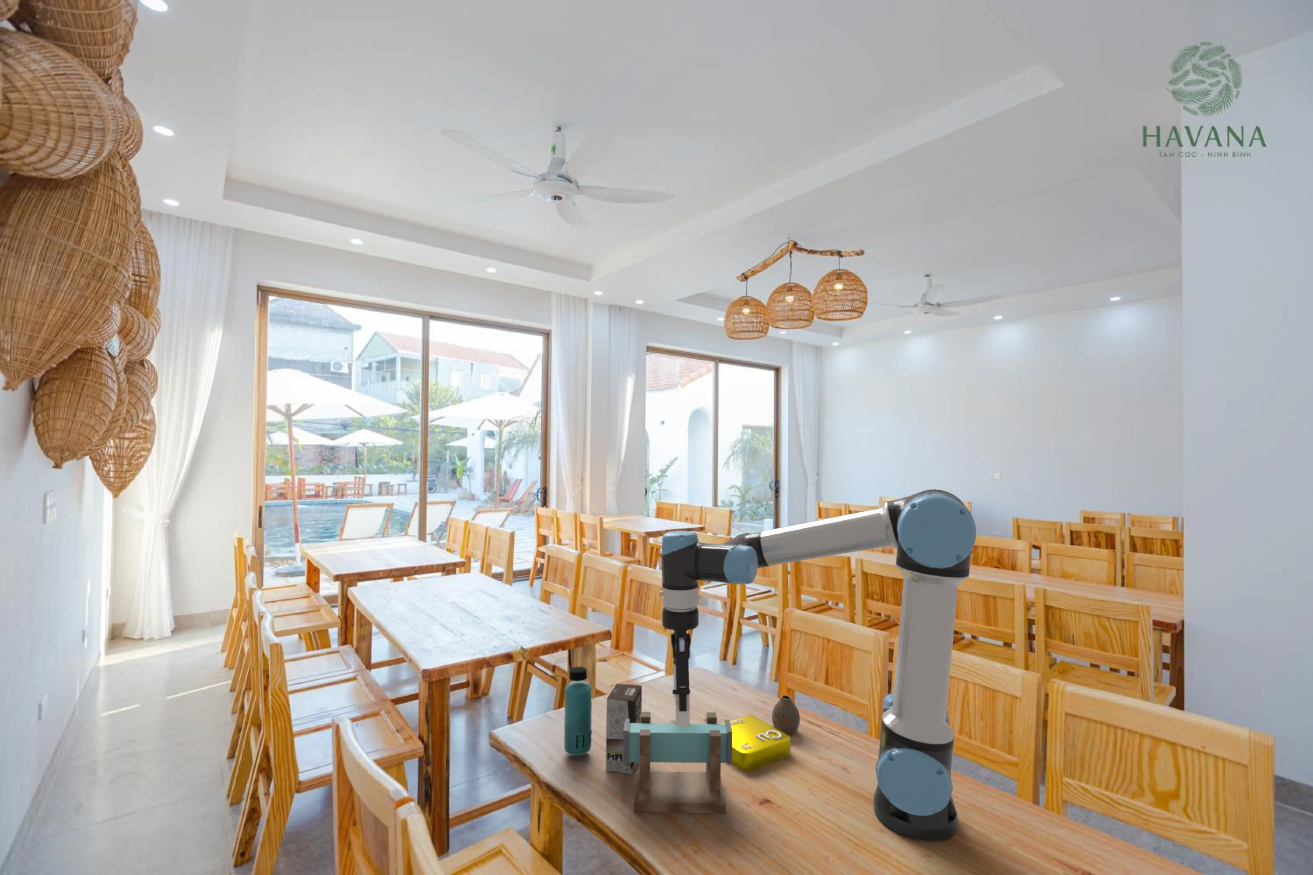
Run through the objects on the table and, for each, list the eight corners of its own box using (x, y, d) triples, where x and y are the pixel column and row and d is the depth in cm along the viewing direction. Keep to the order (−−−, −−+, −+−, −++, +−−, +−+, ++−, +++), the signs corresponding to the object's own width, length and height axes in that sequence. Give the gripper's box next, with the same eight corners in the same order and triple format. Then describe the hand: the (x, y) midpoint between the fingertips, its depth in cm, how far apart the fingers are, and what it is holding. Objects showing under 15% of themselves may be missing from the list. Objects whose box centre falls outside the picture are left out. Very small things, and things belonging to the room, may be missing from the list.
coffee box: (633, 774, 132) (633, 700, 132) (604, 771, 133) (605, 698, 133) (642, 753, 141) (643, 684, 141) (615, 750, 142) (616, 682, 142)
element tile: (751, 730, 154) (751, 711, 154) (794, 756, 141) (794, 735, 141) (704, 745, 146) (704, 725, 146) (745, 774, 133) (746, 753, 133)
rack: (719, 781, 130) (720, 711, 130) (725, 813, 119) (726, 736, 119) (636, 780, 130) (636, 710, 130) (634, 812, 119) (634, 735, 119)
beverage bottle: (573, 765, 135) (574, 676, 136) (557, 753, 140) (558, 667, 140) (597, 755, 140) (598, 669, 140) (581, 744, 145) (582, 661, 145)
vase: (803, 729, 153) (803, 695, 153) (794, 741, 147) (794, 705, 147) (777, 722, 157) (778, 689, 157) (767, 733, 151) (767, 698, 151)
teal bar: (729, 751, 127) (729, 719, 127) (732, 764, 121) (732, 731, 121) (624, 750, 127) (624, 718, 127) (623, 763, 122) (623, 730, 122)
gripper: (661, 592, 137) (662, 686, 136) (662, 625, 112) (663, 740, 111) (694, 592, 137) (695, 685, 136) (703, 624, 112) (704, 739, 111)
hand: (681, 710), depth 124 cm, fingers open, 13 cm apart
